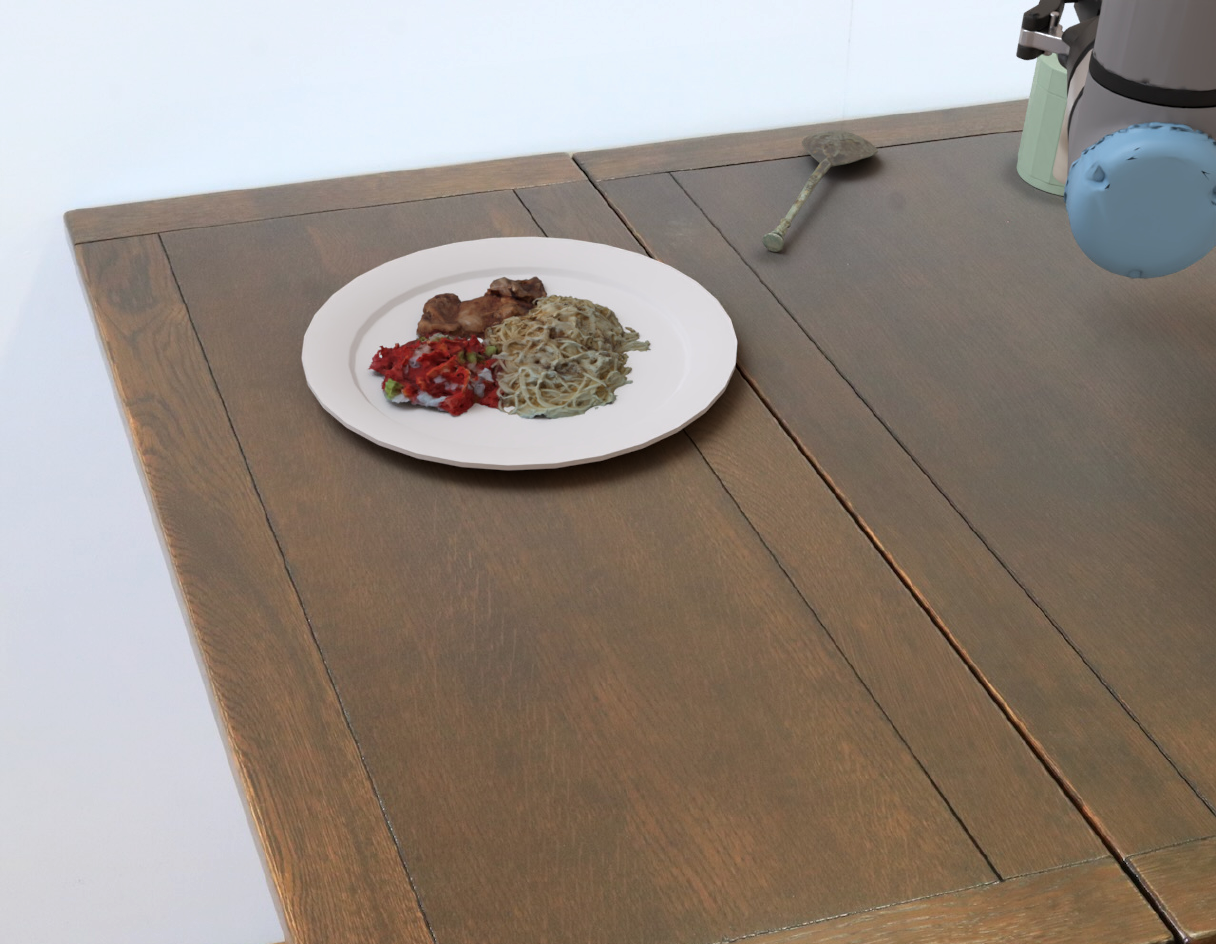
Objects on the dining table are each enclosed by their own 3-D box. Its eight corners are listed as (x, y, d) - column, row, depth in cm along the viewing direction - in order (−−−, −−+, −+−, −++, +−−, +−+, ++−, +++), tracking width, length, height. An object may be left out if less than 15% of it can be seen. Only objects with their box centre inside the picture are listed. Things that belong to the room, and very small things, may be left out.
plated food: (812, 335, 108) (817, 293, 105) (572, 549, 89) (572, 503, 87) (483, 223, 120) (481, 184, 118) (212, 390, 101) (204, 347, 99)
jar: (1142, 164, 130) (1172, 49, 123) (1115, 208, 123) (1145, 89, 117) (1034, 141, 133) (1057, 28, 126) (1002, 183, 127) (1025, 66, 120)
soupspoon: (885, 159, 131) (814, 149, 134) (889, 121, 129) (816, 112, 132) (810, 260, 116) (730, 247, 118) (813, 218, 114) (731, 206, 116)
